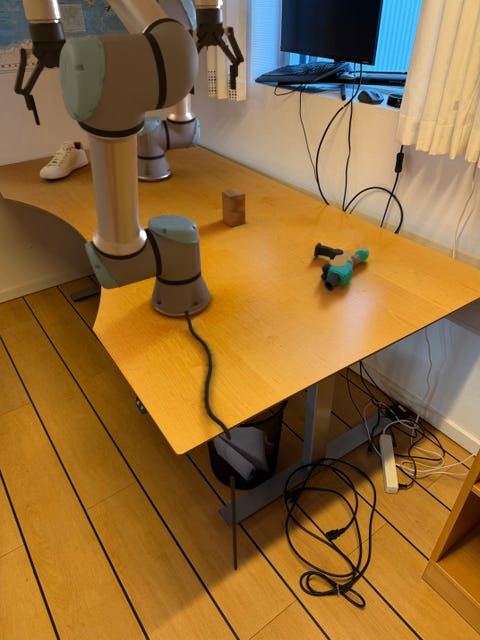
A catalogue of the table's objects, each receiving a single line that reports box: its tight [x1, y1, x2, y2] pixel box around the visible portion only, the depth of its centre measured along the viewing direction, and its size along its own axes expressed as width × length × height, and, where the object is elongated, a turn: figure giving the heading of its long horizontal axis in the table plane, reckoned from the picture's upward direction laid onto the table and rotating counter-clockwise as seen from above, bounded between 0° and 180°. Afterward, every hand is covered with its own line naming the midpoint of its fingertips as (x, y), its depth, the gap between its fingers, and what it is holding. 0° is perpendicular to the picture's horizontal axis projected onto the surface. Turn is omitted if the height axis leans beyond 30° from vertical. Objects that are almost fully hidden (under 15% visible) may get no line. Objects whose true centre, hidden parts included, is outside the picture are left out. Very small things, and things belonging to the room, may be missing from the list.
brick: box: [221, 187, 246, 227], centre depth 163 cm, size 6×6×11 cm
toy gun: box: [313, 242, 370, 292], centre depth 136 cm, size 4×26×15 cm
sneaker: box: [39, 141, 89, 180], centre depth 207 cm, size 10×29×12 cm, turn 163°
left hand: (212, 91), depth 143 cm, fingers open, 13 cm apart
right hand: (66, 120), depth 120 cm, fingers open, 13 cm apart
